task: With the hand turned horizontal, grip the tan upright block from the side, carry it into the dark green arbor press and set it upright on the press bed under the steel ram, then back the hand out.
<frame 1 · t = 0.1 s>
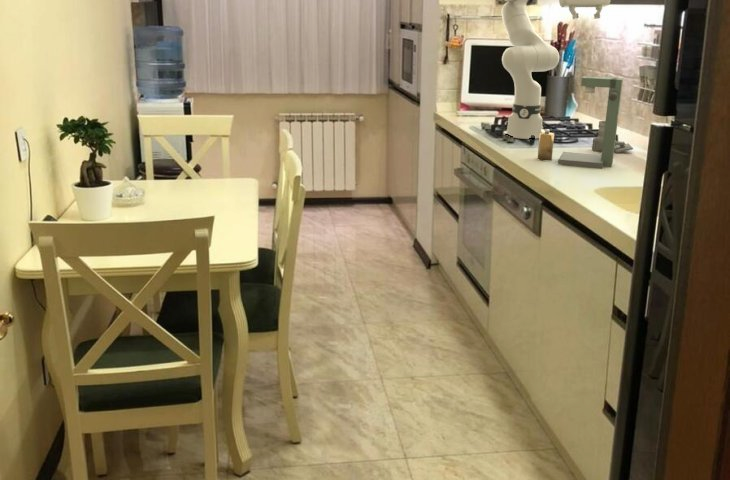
hand: (586, 18, 280), 52 cm above the worktop, tool tilted 20°, fingers open, 8 cm apart
camera: (611, 151, 305), on the worktop
tan upright block: (544, 159, 290), on the worktop
press: (581, 162, 285), on the worktop
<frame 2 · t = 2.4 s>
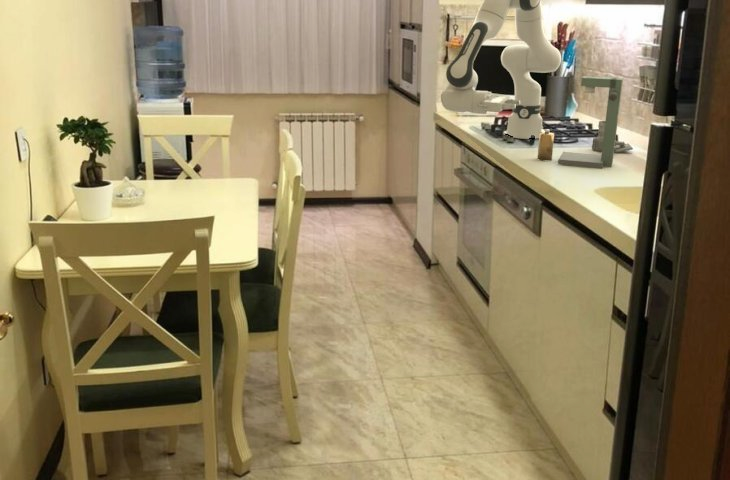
hand: (517, 104, 287), 20 cm above the worktop, tool horizontal, fingers open, 8 cm apart
nothing on the worktop moved.
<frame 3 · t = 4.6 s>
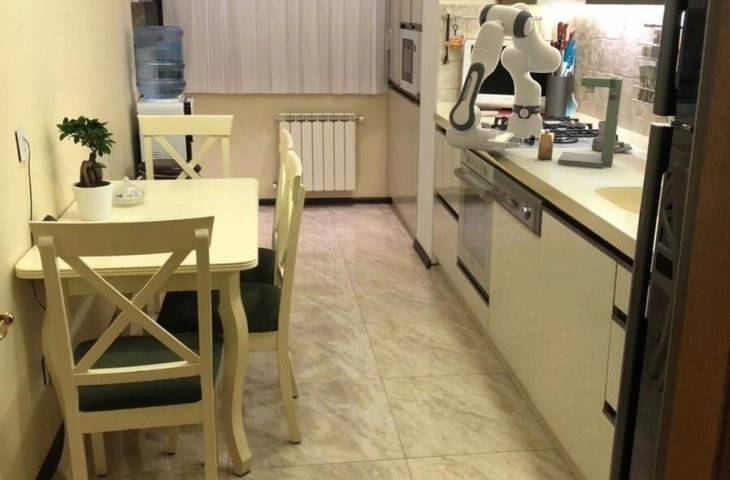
hand: (521, 143, 291), 5 cm above the worktop, tool horizontal, fingers open, 8 cm apart
nothing on the worktop moved.
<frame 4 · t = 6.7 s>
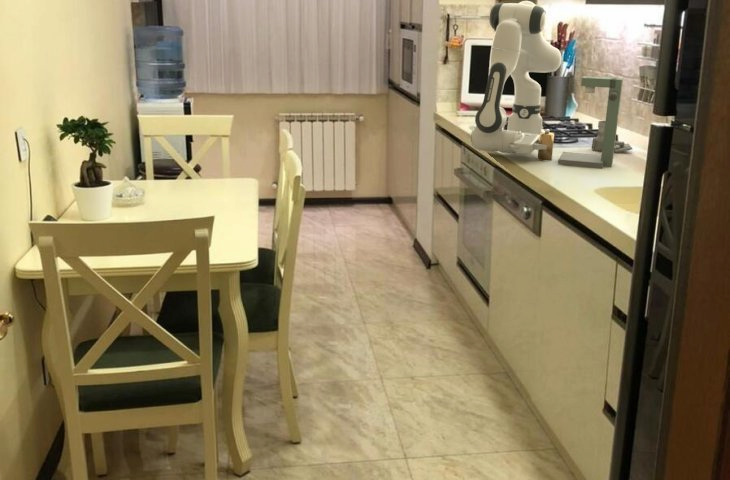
hand: (548, 145, 288), 6 cm above the worktop, tool horizontal, fingers closed on tan upright block, 5 cm apart
tan upright block: (544, 159, 290), on the worktop, touching gripper
everything else where it was.
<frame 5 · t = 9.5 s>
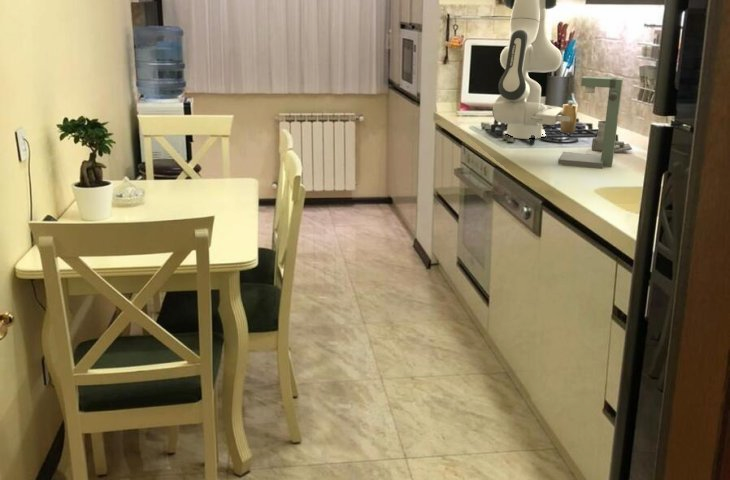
hand: (571, 117, 281), 17 cm above the worktop, tool horizontal, fingers closed on tan upright block, 5 cm apart
tan upright block: (567, 131, 283), point 11 cm above the worktop, touching gripper
everything else where it was.
when the fingers open (9 cm above the worktop, at t = 12.0 s): tan upright block drops 1 cm, resting on press.
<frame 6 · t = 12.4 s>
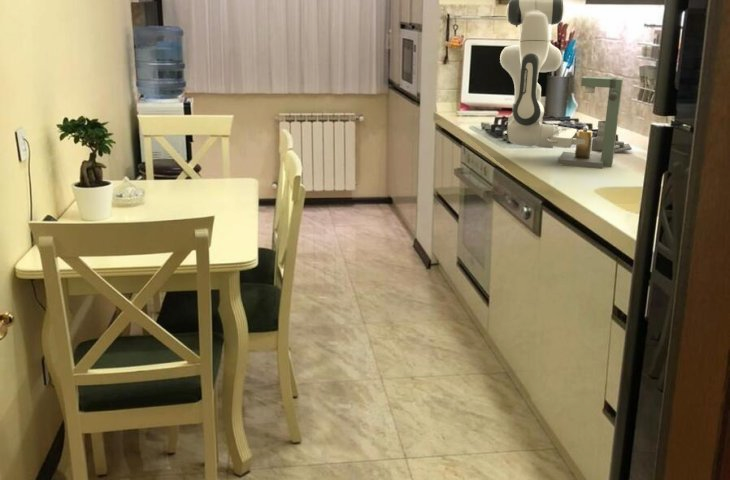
hand: (586, 139, 282), 9 cm above the worktop, tool horizontal, fingers open, 8 cm apart
tan upright block: (582, 157, 284), point 2 cm above the worktop, touching press
everything else where it was.
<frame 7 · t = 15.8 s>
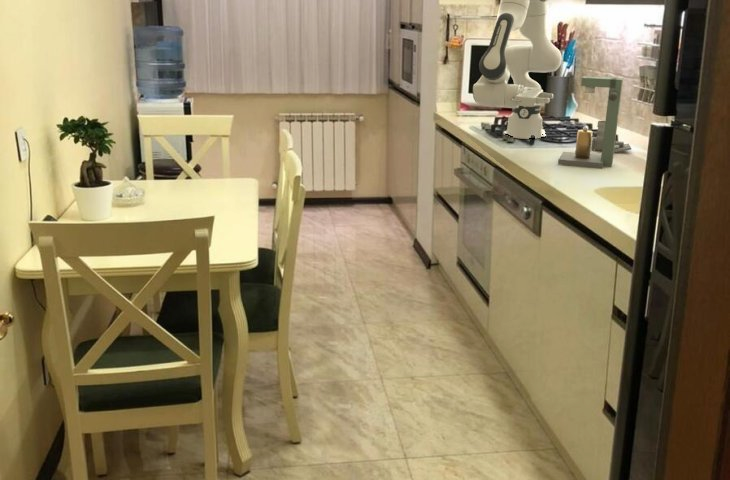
hand: (551, 98, 282), 23 cm above the worktop, tool horizontal, fingers open, 8 cm apart
nothing on the worktop moved.
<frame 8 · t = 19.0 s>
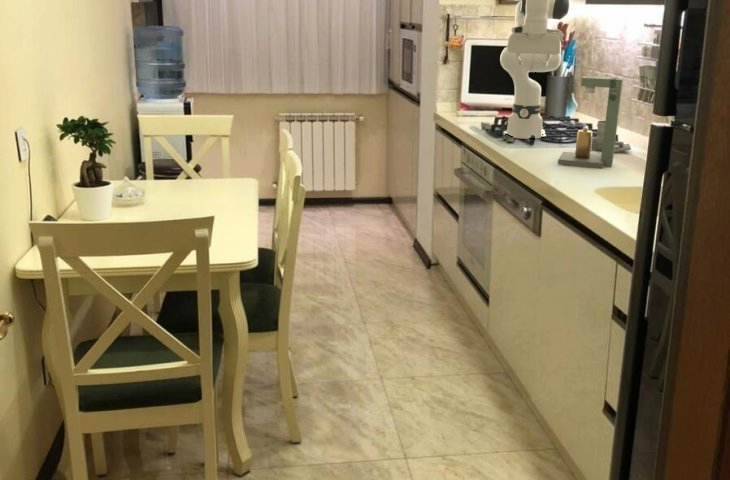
hand: (532, 65, 289), 34 cm above the worktop, tool pointing down, fingers open, 8 cm apart
nothing on the worktop moved.
at the end: tan upright block 0.0 cm off-centre on the press, point 2.0 cm above the press's base; tan upright block tilted 0°; the gripper is holding nothing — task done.
